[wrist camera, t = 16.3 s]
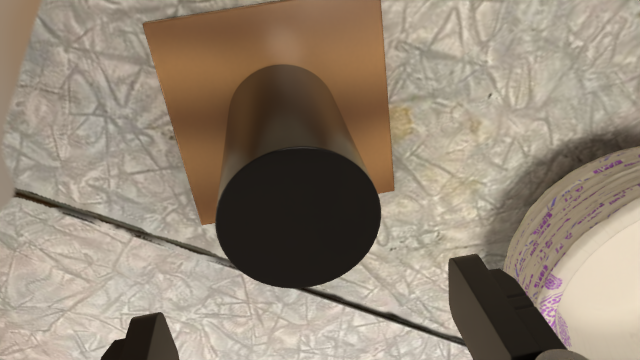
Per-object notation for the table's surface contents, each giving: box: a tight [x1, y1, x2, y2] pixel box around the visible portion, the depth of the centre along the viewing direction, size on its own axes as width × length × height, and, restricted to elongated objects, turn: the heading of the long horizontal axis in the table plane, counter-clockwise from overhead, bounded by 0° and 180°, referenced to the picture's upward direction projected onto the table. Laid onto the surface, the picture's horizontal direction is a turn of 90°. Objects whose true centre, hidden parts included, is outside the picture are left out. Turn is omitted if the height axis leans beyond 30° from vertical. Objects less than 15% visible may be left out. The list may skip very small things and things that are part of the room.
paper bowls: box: [504, 146, 640, 360], centre depth 31 cm, size 15×15×8 cm
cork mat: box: [143, 0, 395, 225], centre depth 28 cm, size 12×12×1 cm
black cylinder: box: [215, 64, 381, 288], centre depth 23 cm, size 6×6×11 cm
